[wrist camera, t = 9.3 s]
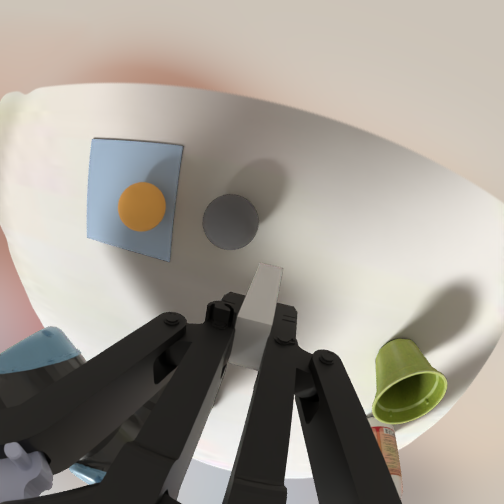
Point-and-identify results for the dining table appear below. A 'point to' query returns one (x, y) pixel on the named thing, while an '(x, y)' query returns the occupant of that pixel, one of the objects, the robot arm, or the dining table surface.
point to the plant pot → (405, 383)
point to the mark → (121, 177)
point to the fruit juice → (388, 449)
